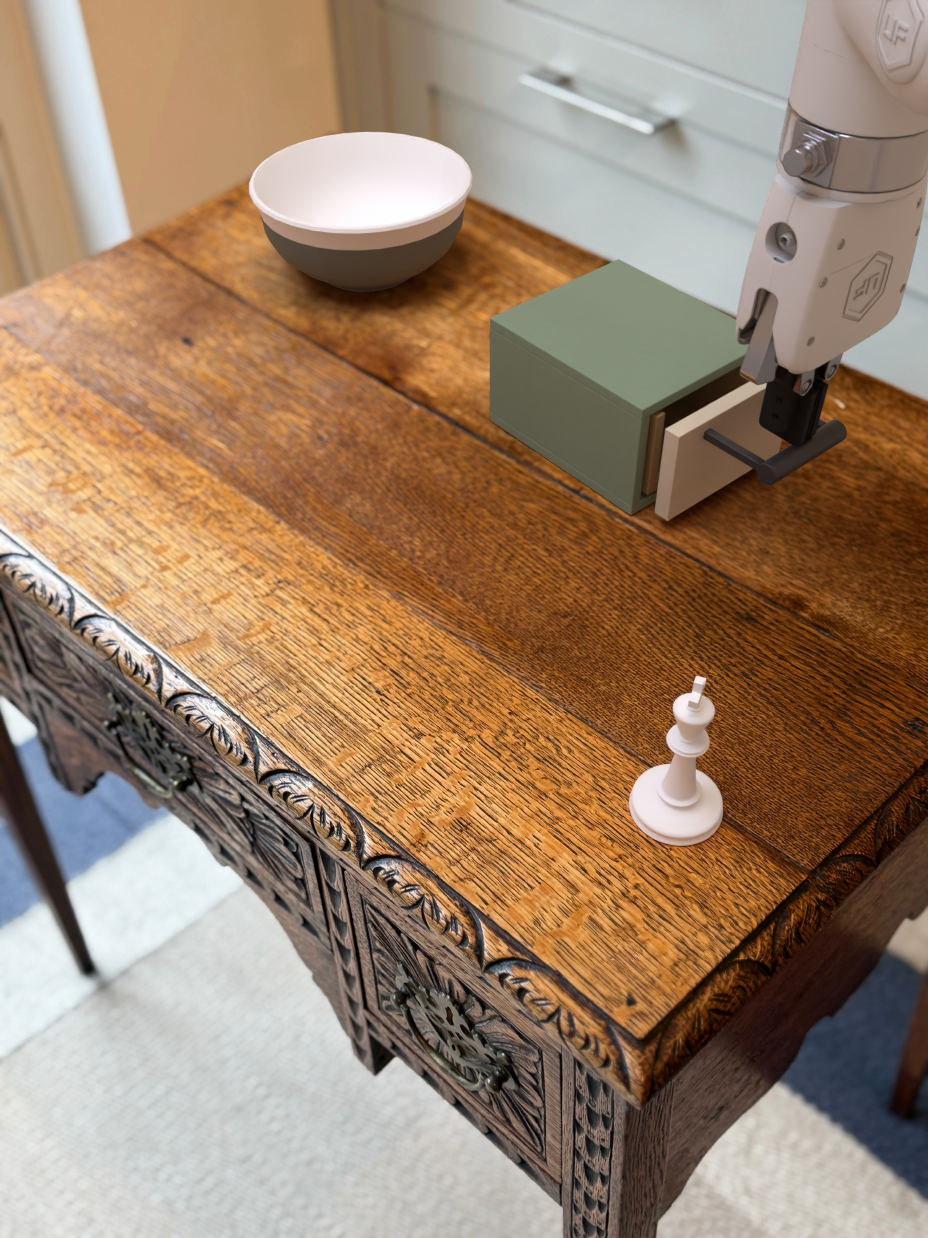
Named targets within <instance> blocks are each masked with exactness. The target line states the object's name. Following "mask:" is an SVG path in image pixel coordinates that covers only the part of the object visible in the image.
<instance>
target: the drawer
mask: <svg viewBox="0 0 928 1238" xmlns="http://www.w3.org/2000/svg"><path fill="white" fill-rule="evenodd" d="M741 366H742V365H741ZM741 366H739V367H737V368H735V369H733V370H732V371H730V372H728V373H726V374H724V375H722V376H721V377H719V378H717V379H715V380H713V381H712V382H710V383H708V384H706V385H704V386H702V387H701V388H699V389H697V390H695V391H693V392H692V393H690V394H688V395H686V396H684V397H682V398H681V399H679V400H677V401H675V402H673V403H672V404H670V405H668V406H666V407H664V408H662V409H661V410H659V411H657V412H655V413H653V414H652V415H650V420H649V429H648V437H647V446H646V454H645V463H644V471H643V480H642V488H641V491H642V492H644V493H645V494H647V495H649V494H650V493H652V492H654V491H655V490H657V489H658V490H657V497H656V501H655V506H654V513H655V514H656V515H657V516H659V517H660V518H661V519H663V520H664V521H667V522H668V521H670V520H672V519H673V518H675V517H676V516H678V515H680V514H681V513H683V512H684V511H686V510H688V509H690V508H691V507H693V506H695V505H696V504H698V503H700V502H701V501H703V500H704V499H706V498H707V497H709V496H711V495H712V494H714V493H716V492H717V491H719V490H720V489H722V488H724V487H725V486H728V485H729V484H730V483H732V482H734V481H735V480H737V479H738V478H740V477H742V476H744V475H745V474H747V473H748V472H750V471H752V470H754V471H755V472H756V476H757V478H758V480H759V481H760V482H761V483H762V484H763V485H765V486H770V487H771V486H773V485H775V484H777V483H778V482H780V481H782V480H783V479H784V478H786V477H788V476H789V475H791V474H792V473H794V472H796V471H797V470H799V469H801V468H802V467H804V466H806V465H807V464H808V463H811V461H814V460H815V459H817V458H818V457H820V456H821V455H823V454H824V453H826V452H827V451H829V450H831V449H833V448H834V447H836V446H837V445H839V444H840V443H842V442H844V441H845V439H846V438H847V436H848V430H847V427H846V425H845V424H844V423H843V422H842V421H841V420H839V419H831V420H829V421H827V422H826V421H825V420H823V419H821V418H820V419H819V423H818V427H817V431H816V434H815V435H814V436H813V437H811V438H810V439H805V441H804V442H803V443H802V444H800V445H799V446H793V445H791V444H789V446H786V447H785V448H783V449H782V450H780V449H781V445H782V441H783V439H781V438H780V437H778V436H776V435H775V434H773V433H771V432H770V431H768V430H766V429H764V428H763V427H762V426H761V425H760V424H759V417H760V412H761V407H762V403H763V398H764V394H765V389H766V385H767V383H765V384H761V385H756V384H754V383H752V382H750V381H749V380H747V379H745V378H744V377H742V376H740V369H741Z"/></svg>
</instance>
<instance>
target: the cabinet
mask: <svg viewBox="0 0 928 1238" xmlns="http://www.w3.org/2000/svg"><path fill="white" fill-rule="evenodd" d="M748 346H749V344H747V345H741V344H739V343H738V341H737V338H736V318H734V317H732V316H730V315H728V314H726V313H724V312H722V311H720V310H718V309H717V308H715V307H712V306H710V305H709V304H707V303H705V302H703V301H701V300H699V299H697V298H695V297H693V296H691V295H689V294H687V293H686V292H683V291H681V290H679V289H677V288H675V287H673V286H672V285H670V284H668V283H666V282H664V281H662V280H660V279H658V278H656V277H654V276H652V275H650V274H649V273H646V272H644V271H642V270H640V269H639V268H637V267H634V266H633V265H631V264H629V263H627V262H625V261H623V260H621V259H616V260H614V261H611V262H609V263H607V264H605V265H603V266H600V267H598V268H596V269H594V270H592V271H589V272H587V273H585V274H583V275H580V276H578V277H576V278H574V279H571V280H570V281H568V282H565V283H563V284H561V285H559V286H556V287H553V288H552V289H550V290H547V291H545V292H544V293H541V294H539V295H537V296H535V297H533V298H531V299H528V300H526V301H524V302H522V303H520V304H519V303H518V304H517V305H515V306H513V307H510V308H509V309H506V310H504V311H502V312H500V313H497V314H495V315H493V316H491V317H490V318H489V421H490V422H491V423H493V424H495V425H496V426H497V427H499V428H500V429H502V431H503V430H504V431H505V432H506V433H508V434H509V435H511V437H514V438H515V439H517V440H518V441H520V442H521V443H522V444H524V445H526V446H527V447H528V448H530V450H531V449H532V450H533V451H534V452H536V453H537V454H539V455H540V456H542V457H543V458H545V459H546V460H547V461H549V462H551V463H552V464H554V465H555V466H556V467H558V468H559V469H561V470H563V471H564V472H566V473H567V474H568V475H570V476H572V477H573V478H575V479H576V480H577V481H578V482H580V483H582V484H583V485H585V486H586V487H588V488H589V489H591V490H592V491H593V492H595V493H596V494H598V495H599V496H601V497H603V499H605V500H607V501H608V502H610V503H611V504H613V505H614V506H615V507H617V508H619V509H620V510H622V511H623V512H625V513H626V514H628V515H629V516H633V515H635V514H636V513H638V512H640V511H641V510H643V509H644V508H647V507H648V506H650V505H651V504H653V503H656V497H657V490H658V489H657V490H655V491H654V492H652V493H650V494H649V495H647V494H645V493H644V492H642V491H641V488H642V480H643V471H644V463H645V454H646V446H647V437H648V429H649V420H650V415H652V414H653V413H655V412H657V411H659V410H661V409H662V408H664V407H666V406H668V405H670V404H672V403H673V402H675V401H677V400H679V399H681V398H682V397H684V396H686V395H688V394H690V393H692V392H693V391H695V390H697V389H699V388H701V387H702V386H704V385H706V384H708V383H710V382H712V381H713V380H715V379H717V378H719V377H721V376H722V375H724V374H726V373H728V372H730V371H732V370H733V369H735V368H737V367H739V366H741V365H742V363H743V360H744V357H745V354H746V352H747V349H748Z"/></svg>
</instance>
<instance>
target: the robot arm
mask: <svg viewBox="0 0 928 1238" xmlns="http://www.w3.org/2000/svg"><path fill="white" fill-rule="evenodd" d="M789 89H790V90H789V94H788V95H789V96H788V99H787V104H786V109H785V114H784V120H783V124H782V130H781V134H780V135H781V136H780V140H779V145H778V151H777V155H776V160H775V162H776V163H775V164H776V165H775V166H776V169H777V172H778V173H776V175H774V177H773V179H772V183H771V186H770V188H769V190H768V191H769V192H768V194H767V196H766V199H765V202H764V204H763V205H764V206H763V209H762V211H761V215H760V217H759V221H758V224H757V227H756V230H755V234H754V238H753V241H752V245H751V247H750V252H749V255H748V259H747V263H746V266H745V267H746V268H745V272H744V275H743V280H742V285H741V290H740V295H739V300H738V305H737V310H736V311H737V312H736V318H735V319H736V338H737V341H738V343H739V344H741V345H747V344H749V346H748V349H747V352H746V354H745V357H744V360H743V363H742V366H741V369H740V376H742V377H744V378H745V379H747V380H749V381H750V382H752V383H754V384H756V385H761V384H765V383H767V385H766V389H765V394H764V398H763V403H762V407H761V412H760V417H759V424H760V425H761V426H762V427H763V428H764V429H766V430H768V431H770V432H771V433H773V434H775V435H776V436H778V437H780V438H781V439H782V441H784V442H786V443H788V444H789V445H793V446H799V445H800V444H802V443H803V442H804V441H805V439H810V438H811V437H813V436H814V435H815V434H816V431H817V427H818V423H819V419H821V415H822V411H823V407H824V404H825V400H826V397H827V394H828V388H829V385H830V384H829V383H827V382H828V381H829V382H830V380H832V379H833V378H834V377H835V375H836V374H837V372H838V369H839V367H840V364H841V361H842V359H843V356H844V353H845V352H847V351H849V350H850V349H852V348H854V347H855V346H858V345H859V344H860V343H862V342H864V341H865V340H867V339H869V338H870V337H872V336H874V335H875V334H877V333H878V332H880V331H881V330H883V329H884V328H885V327H887V326H888V325H889V324H891V322H892V321H894V319H895V318H896V317H897V316H898V313H899V312H900V309H901V306H902V302H903V300H904V295H905V292H906V288H907V285H908V284H907V283H908V281H909V277H910V274H911V269H912V266H913V261H914V257H915V254H916V253H915V252H916V248H917V246H918V245H917V244H918V240H919V236H920V235H919V234H920V231H921V225H922V222H923V215H924V209H925V205H926V198H927V197H926V196H927V190H928V0H807V1H806V6H805V12H804V15H803V21H802V27H801V33H800V37H799V43H798V48H797V53H796V59H795V64H794V69H793V74H792V79H791V84H790V88H789ZM825 381H826V382H825Z"/></svg>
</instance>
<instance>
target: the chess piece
mask: <svg viewBox="0 0 928 1238" xmlns="http://www.w3.org/2000/svg"><path fill="white" fill-rule="evenodd" d="M706 683H707V678H706V677H703V676H700V675H695V678H694V681H693V685H692V690H691V692H686V693H683V694H681V695H679V696H678V697H677V698H676V699H675V700H674V701H673V704H672V713H673V717H674V719H675V723H676V724H674V725H673V726H672V727H671V728H670V729H669V730H668V731H667V734H666V737H665V741H666V745H667V747H668V748H669V749H670V750H671V751H672V752H673V757H672V759H671V761H670V763H664V764H659V765H655V766H653V767H650V768H649V769H646V770H645V771H643V772H642V774H641V775H639V777H638V778H637V779H636V781H635V783H634V784H633V786H632V789H631V791H630V793H629V798H628V808H629V813H630V816H631V818H632V820H633V822H634V823H635V825H636V826H637V827H638V828H639V829H640V830H641V831H642V832H643V833H644V834H645V835H647V836H648V837H650V838H651V839H653V840H655V841H656V842H660V843H662V844H666V845H671V846H678V847H683V846H684V847H685V846H693V845H697V844H699V843H703V842H704V841H706V840H709V838H710V837H712V836H713V835H714V834H715V833H716V832H717V830H718V829H719V828H720V826H721V823H722V821H723V818H724V817H723V816H724V801H723V796H722V794H721V791H720V789H719V787H718V786H717V784H716V783H715V782H714V780H712V778H710V777H709V776H708V775H707V774H706V773H704V772H702V771H701V770H699V769H697V758H698V757H701V756H703V755H704V754H706V753H707V752H708V750H709V748H710V745H711V741H710V740H711V739H710V736H709V734H708V732H707V731H706V728H707V727H708V726H709V725H710V723H711V722H712V721H713V720H714V717H715V714H716V708H715V706H714V703H713V702H712V701H711V700H710V699H709V698H708V697H707V696H705V695H703V692H704V689H705V687H706Z"/></svg>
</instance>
